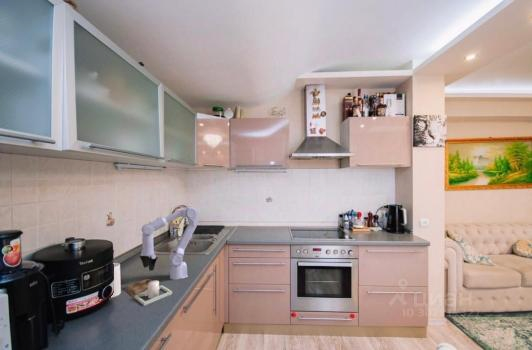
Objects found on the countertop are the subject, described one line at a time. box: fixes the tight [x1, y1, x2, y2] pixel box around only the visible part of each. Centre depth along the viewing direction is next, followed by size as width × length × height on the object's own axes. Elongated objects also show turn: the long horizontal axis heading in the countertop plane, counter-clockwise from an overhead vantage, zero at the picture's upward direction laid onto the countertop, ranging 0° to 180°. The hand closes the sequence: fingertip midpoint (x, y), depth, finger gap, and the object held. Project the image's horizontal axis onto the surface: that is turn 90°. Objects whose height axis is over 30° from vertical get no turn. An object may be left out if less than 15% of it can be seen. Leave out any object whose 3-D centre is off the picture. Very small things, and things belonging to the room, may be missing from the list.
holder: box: [123, 278, 153, 299], centre depth 130 cm, size 14×14×3 cm
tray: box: [134, 285, 173, 308], centre depth 122 cm, size 14×11×2 cm
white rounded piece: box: [144, 280, 160, 300], centre depth 121 cm, size 7×5×7 cm
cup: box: [110, 262, 122, 299], centre depth 125 cm, size 8×8×16 cm
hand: (148, 268), depth 136 cm, fingers open, 7 cm apart
